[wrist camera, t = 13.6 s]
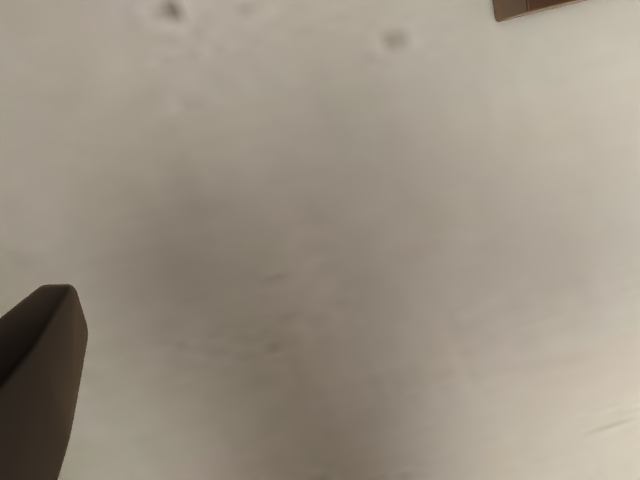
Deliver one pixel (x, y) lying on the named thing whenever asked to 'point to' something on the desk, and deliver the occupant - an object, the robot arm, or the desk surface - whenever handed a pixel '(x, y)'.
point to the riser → (525, 7)
